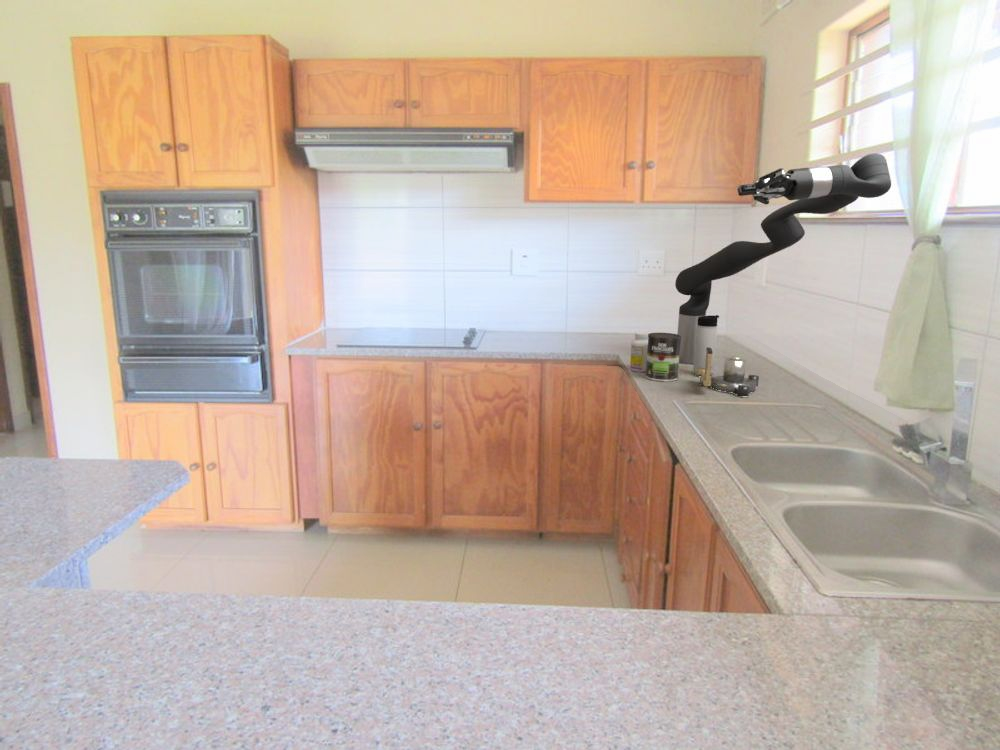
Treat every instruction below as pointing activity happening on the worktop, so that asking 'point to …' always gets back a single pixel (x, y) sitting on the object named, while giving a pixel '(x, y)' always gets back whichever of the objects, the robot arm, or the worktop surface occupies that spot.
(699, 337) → the travel mug
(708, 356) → the lever
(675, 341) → the coffee can
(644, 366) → the supplement bottle
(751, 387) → the levelling base
